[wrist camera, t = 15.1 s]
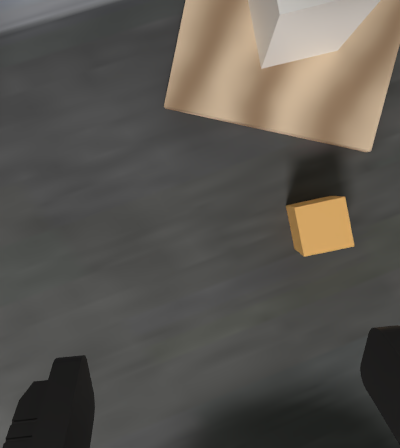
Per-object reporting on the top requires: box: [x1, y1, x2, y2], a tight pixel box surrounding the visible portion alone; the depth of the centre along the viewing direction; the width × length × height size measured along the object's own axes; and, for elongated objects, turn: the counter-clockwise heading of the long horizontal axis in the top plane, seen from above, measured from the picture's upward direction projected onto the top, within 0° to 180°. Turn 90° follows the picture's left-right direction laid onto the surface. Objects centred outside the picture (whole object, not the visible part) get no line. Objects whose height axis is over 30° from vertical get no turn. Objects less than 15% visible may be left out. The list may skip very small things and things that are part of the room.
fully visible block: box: [286, 196, 354, 257], centre depth 32 cm, size 4×4×4 cm
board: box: [164, 0, 400, 152], centre depth 32 cm, size 18×18×1 cm
